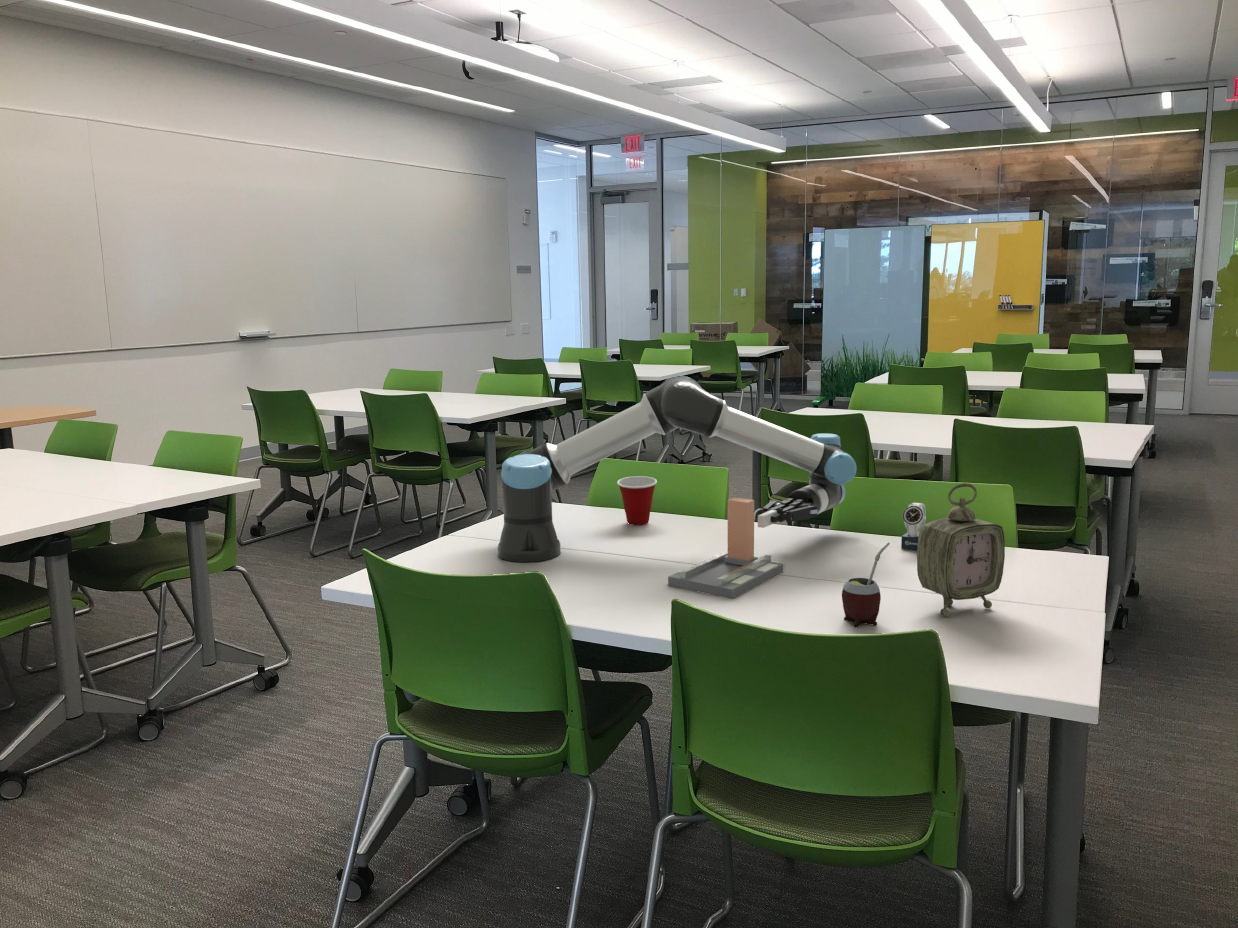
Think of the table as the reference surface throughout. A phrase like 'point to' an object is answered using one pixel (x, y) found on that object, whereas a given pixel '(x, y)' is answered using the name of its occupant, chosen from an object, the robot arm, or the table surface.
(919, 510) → the watch
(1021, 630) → the table surface
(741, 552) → the switch lever
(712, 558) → the switch panel
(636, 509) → the plastic cup
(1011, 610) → the table surface
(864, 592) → the mate gourd
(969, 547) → the tabletop clock
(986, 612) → the table surface
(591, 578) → the table surface
